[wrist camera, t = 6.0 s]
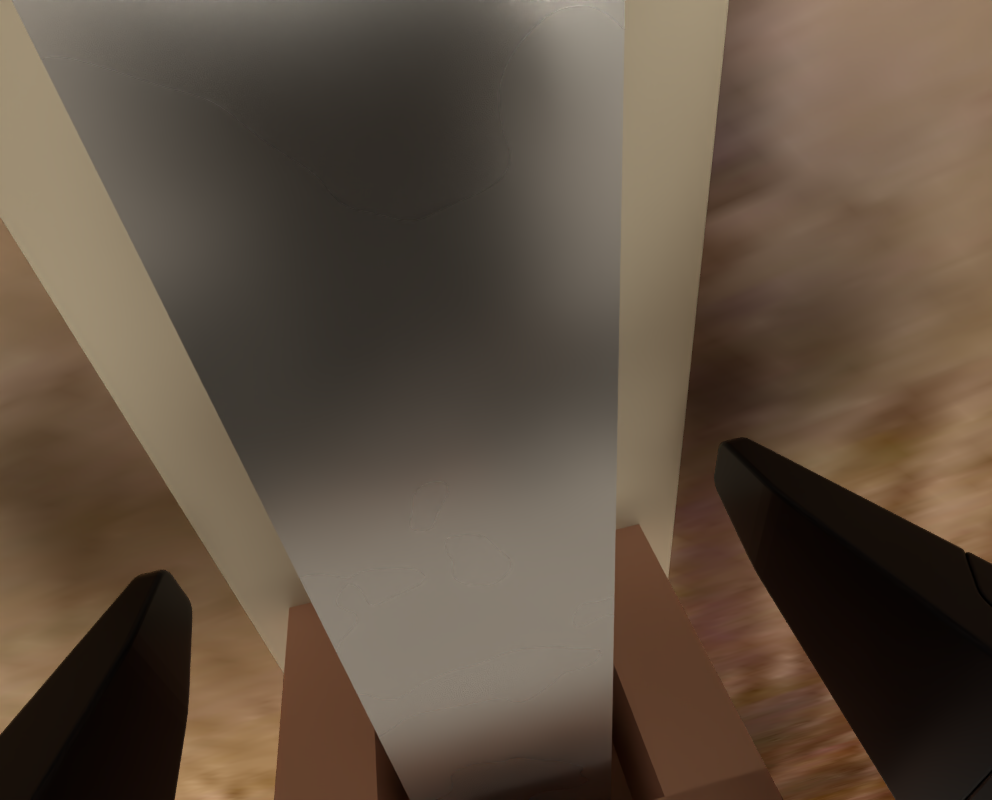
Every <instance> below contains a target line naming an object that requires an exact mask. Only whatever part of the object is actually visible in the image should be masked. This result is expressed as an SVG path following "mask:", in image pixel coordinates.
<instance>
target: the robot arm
mask: <svg viewBox="0 0 992 800" xmlns="http://www.w3.org/2000/svg"><path fill="white" fill-rule="evenodd" d="M714 481H715V486H716V489H717V492H718V494H719V496H720V498H721V500H722V502H723V504H724V506H725V509H726V511H727V513H728V515H729V517H730V519H731V521H732V524H733V526H734V528H735V530H736V532H737V534H738V536H739V538H740V541H741V543H742V545H743V547H744V549H745V551H746V553H747V555H748V557H749V559H750V561H751V563H752V565H753V567H754V569H755V571H756V573H757V574H758V576H759V578H760V579H761V581H762V583H763V584H764V586H765V588H766V589H767V591H768V593H769V594H770V596H771V597H772V599H773V601H774V602H775V604H776V606H777V607H778V609H779V610H780V612H781V614H782V615H783V617H784V619H785V620H786V622H787V623H788V625H789V627H790V628H791V630H792V632H793V633H794V635H795V636H796V638H797V640H798V641H799V643H800V645H801V646H802V648H803V650H804V651H805V653H806V654H807V656H808V658H809V659H810V661H811V663H812V664H813V666H814V667H815V669H816V671H817V672H818V674H819V676H820V677H821V679H822V680H823V682H824V684H825V685H826V687H827V689H828V690H829V692H830V693H831V695H832V697H833V698H834V700H835V702H836V703H837V705H838V707H839V708H840V710H841V711H842V713H843V715H844V716H845V718H846V720H847V721H848V723H849V724H850V726H851V728H852V729H853V731H854V733H855V734H856V736H857V737H858V739H859V741H860V742H861V744H862V746H863V747H864V749H865V750H866V752H867V754H868V755H869V757H870V759H871V760H872V762H873V764H874V765H875V767H876V768H877V770H878V772H879V773H880V775H881V777H882V778H883V780H884V781H885V783H886V785H887V786H888V788H889V790H890V791H891V793H892V794H893V796H894V798H895V799H896V800H992V564H991V563H989V562H987V561H985V560H984V559H982V558H980V557H978V556H976V555H974V554H972V553H970V552H966V553H965V552H964V550H963V549H962V548H960V547H958V546H956V545H954V544H952V543H950V542H948V541H946V540H944V539H942V538H941V537H939V536H937V535H935V534H933V533H931V532H929V531H927V530H925V529H923V528H921V527H919V526H917V525H915V524H913V523H911V522H909V521H908V520H906V519H904V518H902V517H900V516H898V515H896V514H894V513H892V512H890V511H888V510H886V509H884V508H882V507H880V506H878V505H877V504H875V503H873V502H871V501H869V500H867V499H865V498H863V497H861V496H859V495H857V494H855V493H853V492H851V491H849V490H847V489H845V488H844V487H842V486H840V485H838V484H836V483H834V482H832V481H830V480H828V479H826V478H824V477H822V476H820V475H818V474H816V473H814V472H813V471H811V470H809V469H807V468H805V467H803V466H801V465H799V464H797V463H795V462H793V461H791V460H789V459H787V458H785V457H783V456H781V455H780V454H778V453H776V452H774V451H772V450H770V449H768V448H766V447H764V446H762V445H760V444H758V443H756V442H754V441H752V440H750V439H748V438H744V437H741V438H737V439H732V440H728V441H724V442H722V443H721V444H720V446H719V449H718V455H717V461H716V468H715V474H714ZM191 637H192V607H191V603H190V601H189V599H188V597H187V596H186V594H185V593H184V592H183V590H182V589H181V587H180V586H179V584H178V583H177V582H176V580H175V579H174V577H173V576H172V575H171V573H170V572H168V571H166V570H158V571H154V572H150V573H145V574H141V575H139V576H137V577H136V578H134V579H133V580H132V581H131V583H130V584H129V585H128V586H127V587H126V588H125V590H124V591H123V592H122V593H121V594H120V595H119V597H118V598H117V599H116V600H115V601H114V602H113V604H112V605H111V606H110V607H109V608H108V609H107V611H106V612H105V613H104V614H103V615H102V616H101V618H100V619H99V620H98V621H97V622H96V623H95V625H94V626H93V627H92V628H91V629H90V630H89V632H88V633H87V634H86V635H85V636H84V637H83V639H82V640H81V641H80V642H79V643H78V644H77V646H76V647H75V648H74V649H73V650H72V651H71V653H70V654H69V655H68V656H67V657H66V658H65V660H64V661H63V662H62V663H61V664H60V665H59V667H58V668H57V669H56V670H55V671H54V672H53V674H52V675H51V676H50V677H49V678H48V679H47V681H46V682H45V683H44V684H43V685H42V686H41V688H40V689H39V690H38V691H37V692H36V693H35V695H34V696H33V697H32V698H31V699H30V700H29V702H28V703H27V704H26V705H25V706H24V707H23V709H22V710H21V711H20V712H19V713H18V714H17V716H16V717H15V718H14V719H13V720H12V721H11V723H10V724H9V725H8V726H7V727H6V728H5V730H4V731H3V732H2V733H1V734H0V800H175V794H176V787H177V781H178V774H179V768H180V762H181V755H182V749H183V742H184V736H185V730H186V722H187V715H188V705H189V688H190V662H191Z"/></svg>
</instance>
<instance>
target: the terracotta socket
mask: <svg viewBox="0 0 992 800" xmlns="http://www.w3.org/2000/svg"><path fill="white" fill-rule="evenodd" d="M274 800H410V799H409V797H408V795H407V793H406V791H405V789H404V787H403V785H402V783H401V781H400V779H399V777H398V775H397V773H396V771H395V769H394V767H393V765H392V763H391V761H390V759H389V757H388V755H387V753H386V751H385V749H384V747H383V745H382V743H381V741H380V739H379V737H378V735H377V733H376V731H375V729H374V727H373V725H372V723H371V721H370V719H369V717H368V715H367V713H366V711H365V709H364V707H363V705H362V703H361V701H360V699H359V697H358V695H357V693H356V691H355V689H354V687H353V685H352V683H351V681H350V679H349V677H348V675H347V673H346V671H345V669H344V667H343V665H342V663H341V661H340V659H339V657H338V655H337V653H336V651H335V649H334V647H333V645H332V643H331V641H330V639H329V637H328V635H327V633H326V631H325V629H324V627H323V625H322V623H321V621H320V619H319V617H318V614H317V612H316V610H315V608H314V606H313V604H312V602H311V603H307V604H303V605H298V606H294V607H290V608H289V616H288V629H287V642H286V654H285V667H284V680H283V693H282V706H281V719H280V731H279V744H278V757H277V770H276V783H275V795H274ZM611 800H783V798H782V796H781V795H780V793H779V791H778V789H777V787H776V785H775V783H774V781H773V779H772V777H771V775H770V774H769V772H768V770H767V768H766V766H765V764H764V762H763V760H762V758H761V756H760V754H759V752H758V751H757V749H756V747H755V745H754V743H753V741H752V739H751V737H750V735H749V733H748V731H747V729H746V728H745V726H744V724H743V722H742V720H741V718H740V716H739V714H738V712H737V710H736V708H735V707H734V705H733V703H732V701H731V699H730V697H729V695H728V693H727V691H726V689H725V687H724V685H723V684H722V682H721V680H720V678H719V676H718V674H717V672H716V670H715V668H714V666H713V664H712V663H711V661H710V659H709V657H708V655H707V653H706V651H705V649H704V647H703V645H702V643H701V641H700V640H699V638H698V636H697V634H696V632H695V630H694V628H693V626H692V624H691V622H690V620H689V619H688V617H687V615H686V613H685V611H684V609H683V607H682V605H681V603H680V601H679V599H678V597H677V596H676V594H675V592H674V590H673V588H672V586H671V584H670V582H669V580H668V578H667V576H666V574H665V573H664V571H663V569H662V567H661V565H660V563H659V561H658V559H657V557H656V555H655V553H654V552H653V550H652V548H651V546H650V544H649V542H648V540H647V538H646V536H645V534H644V532H643V530H642V529H641V527H640V525H639V524H638V525H633V526H629V527H625V528H621V529H617V530H616V537H615V593H614V649H613V705H612V762H611Z"/></svg>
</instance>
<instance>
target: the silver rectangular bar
mask: <svg viewBox="0 0 992 800" xmlns="http://www.w3.org/2000/svg"><path fill="white" fill-rule="evenodd" d="M12 2H13V4H14V6H15V8H16V10H17V12H18V14H19V16H20V18H21V20H22V22H23V24H24V26H25V28H26V30H27V32H28V34H29V36H30V38H31V40H32V42H33V44H34V46H35V48H36V50H37V52H38V54H39V56H40V58H41V60H42V63H43V65H44V67H45V69H46V71H47V73H48V75H49V77H50V79H51V81H52V83H53V85H54V87H55V89H56V91H57V93H58V95H59V97H60V99H61V101H62V103H63V105H64V107H65V109H66V111H67V113H68V115H69V117H70V119H71V121H72V123H73V125H74V127H75V129H76V131H77V133H78V135H79V137H80V139H81V141H82V143H83V145H84V147H85V149H86V151H87V153H88V155H89V157H90V159H91V161H92V163H93V165H94V167H95V169H96V171H97V173H98V175H99V177H100V179H101V181H102V183H103V185H104V187H105V189H106V191H107V193H108V195H109V197H110V199H111V201H112V203H113V205H114V207H115V209H116V211H117V213H118V215H119V217H120V219H121V221H122V223H123V225H124V227H125V229H126V231H127V233H128V235H129V237H130V239H131V241H132V243H133V245H134V247H135V249H136V251H137V253H138V255H139V257H140V259H141V261H142V263H143V265H144V267H145V269H146V271H147V273H148V275H149V277H150V279H151V281H152V283H153V285H154V287H155V289H156V291H157V293H158V295H159V297H160V299H161V301H162V303H163V305H164V307H165V309H166V311H167V313H168V315H169V317H170V319H171V321H172V323H173V325H174V327H175V329H176V331H177V333H178V335H179V337H180V340H181V342H182V344H183V346H184V348H185V350H186V352H187V354H188V356H189V358H190V360H191V362H192V364H193V366H194V368H195V370H196V372H197V374H198V376H199V378H200V380H201V382H202V384H203V386H204V388H205V390H206V392H207V394H208V396H209V398H210V400H211V402H212V404H213V406H214V408H215V410H216V412H217V414H218V416H219V418H220V420H221V422H222V424H223V426H224V428H225V430H226V432H227V434H228V436H229V438H230V440H231V442H232V444H233V446H234V448H235V450H236V452H237V454H238V456H239V458H240V460H241V462H242V464H243V466H244V468H245V470H246V472H247V474H248V476H249V478H250V480H251V482H252V484H253V486H254V488H255V490H256V492H257V494H258V496H259V498H260V500H261V502H262V504H263V506H264V508H265V510H266V512H267V514H268V516H269V518H270V520H271V522H272V524H273V526H274V528H275V530H276V532H277V534H278V536H279V538H280V540H281V542H282V544H283V546H284V548H285V550H286V552H287V554H288V556H289V558H290V560H291V562H292V564H293V566H294V568H295V570H296V572H297V574H298V576H299V578H300V580H301V582H302V584H303V586H304V588H305V590H306V592H307V594H308V596H309V598H310V600H311V602H312V604H313V606H314V608H315V610H316V612H317V614H318V617H319V619H320V621H321V623H322V625H323V627H324V629H325V631H326V633H327V635H328V637H329V639H330V641H331V643H332V645H333V647H334V649H335V651H336V653H337V655H338V657H339V659H340V661H341V663H342V665H343V667H344V669H345V671H346V673H347V675H348V677H349V679H350V681H351V683H352V685H353V687H354V689H355V691H356V693H357V695H358V697H359V699H360V701H361V703H362V705H363V707H364V709H365V711H366V713H367V715H368V717H369V719H370V721H371V723H372V725H373V727H374V729H375V731H376V733H377V735H378V737H379V739H380V741H381V743H382V745H383V747H384V749H385V751H386V753H387V755H388V757H389V759H390V761H391V763H392V765H393V767H394V769H395V771H396V773H397V775H398V777H399V779H400V781H401V783H402V785H403V787H404V789H405V791H406V793H407V795H408V797H409V799H410V800H611V762H612V705H613V649H614V593H615V537H616V481H617V424H618V368H619V312H620V256H621V200H622V143H623V87H624V31H625V0H12Z"/></svg>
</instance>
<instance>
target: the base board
mask: <svg viewBox="0 0 992 800" xmlns="http://www.w3.org/2000/svg"><path fill="white" fill-rule="evenodd" d="M728 4H729V0H625V31H624V87H623V143H622V200H621V256H620V312H619V368H618V424H617V481H616V530H617V529H621V528H625V527H629V526H633V525H638V524H639V525H640V527H641V529H642V530H643V532H644V534H645V536H646V538H647V540H648V542H649V544H650V546H651V548H652V550H653V552H654V553H655V555H656V557H657V559H658V561H659V563H660V565H661V567H662V569H663V571H664V573H665V574H666V576H667V578H668V575H669V565H670V556H671V546H672V537H673V527H674V518H675V508H676V499H677V489H678V480H679V470H680V461H681V451H682V442H683V432H684V423H685V413H686V404H687V394H688V385H689V375H690V366H691V356H692V347H693V337H694V328H695V318H696V309H697V299H698V289H699V280H700V270H701V261H702V251H703V242H704V232H705V223H706V213H707V204H708V194H709V185H710V175H711V166H712V156H713V147H714V137H715V128H716V118H717V109H718V99H719V90H720V80H721V71H722V61H723V52H724V42H725V33H726V23H727V14H728ZM0 217H1V219H2V220H3V222H4V224H5V225H6V227H7V229H8V230H9V232H10V233H11V235H12V237H13V238H14V240H15V241H16V243H17V245H18V246H19V248H20V249H21V251H22V253H23V254H24V256H25V258H26V259H27V261H28V262H29V264H30V266H31V267H32V269H33V270H34V272H35V274H36V275H37V277H38V278H39V280H40V282H41V283H42V285H43V287H44V288H45V290H46V291H47V293H48V295H49V296H50V298H51V299H52V301H53V303H54V304H55V306H56V307H57V309H58V311H59V312H60V314H61V316H62V317H63V319H64V320H65V322H66V324H67V325H68V327H69V328H70V330H71V332H72V333H73V335H74V336H75V338H76V340H77V341H78V343H79V345H80V346H81V348H82V349H83V351H84V353H85V354H86V356H87V357H88V359H89V361H90V362H91V364H92V365H93V367H94V369H95V370H96V372H97V374H98V375H99V377H100V378H101V380H102V382H103V383H104V385H105V386H106V388H107V390H108V391H109V393H110V394H111V396H112V398H113V399H114V401H115V403H116V404H117V406H118V407H119V409H120V411H121V412H122V414H123V415H124V417H125V419H126V420H127V422H128V423H129V425H130V427H131V428H132V430H133V432H134V433H135V435H136V436H137V438H138V440H139V441H140V443H141V444H142V446H143V448H144V449H145V451H146V452H147V454H148V456H149V457H150V459H151V461H152V462H153V464H154V465H155V467H156V469H157V470H158V472H159V473H160V475H161V477H162V478H163V480H164V481H165V483H166V485H167V486H168V488H169V490H170V491H171V493H172V494H173V496H174V498H175V499H176V501H177V502H178V504H179V506H180V507H181V509H182V510H183V512H184V514H185V515H186V517H187V519H188V520H189V522H190V523H191V525H192V527H193V528H194V530H195V531H196V533H197V535H198V536H199V538H200V539H201V541H202V543H203V544H204V546H205V548H206V549H207V551H208V552H209V554H210V556H211V557H212V559H213V560H214V562H215V564H216V565H217V567H218V568H219V570H220V572H221V573H222V575H223V577H224V578H225V580H226V581H227V583H228V585H229V586H230V588H231V589H232V591H233V593H234V594H235V596H236V597H237V599H238V601H239V602H240V604H241V606H242V607H243V609H244V610H245V612H246V614H247V615H248V617H249V618H250V620H251V622H252V623H253V625H254V626H255V628H256V630H257V631H258V633H259V635H260V636H261V638H262V639H263V641H264V643H265V644H266V646H267V647H268V649H269V651H270V652H271V654H272V655H273V657H274V659H275V660H276V662H277V664H278V665H279V667H280V668H281V670H282V672H283V673H284V667H285V654H286V642H287V629H288V616H289V608H290V607H294V606H298V605H303V604H307V603H311V600H310V598H309V596H308V594H307V592H306V590H305V588H304V586H303V584H302V582H301V580H300V578H299V576H298V574H297V572H296V570H295V568H294V566H293V564H292V562H291V560H290V558H289V556H288V554H287V552H286V550H285V548H284V546H283V544H282V542H281V540H280V538H279V536H278V534H277V532H276V530H275V528H274V526H273V524H272V522H271V520H270V518H269V516H268V514H267V512H266V510H265V508H264V506H263V504H262V502H261V500H260V498H259V496H258V494H257V492H256V490H255V488H254V486H253V484H252V482H251V480H250V478H249V476H248V474H247V472H246V470H245V468H244V466H243V464H242V462H241V460H240V458H239V456H238V454H237V452H236V450H235V448H234V446H233V444H232V442H231V440H230V438H229V436H228V434H227V432H226V430H225V428H224V426H223V424H222V422H221V420H220V418H219V416H218V414H217V412H216V410H215V408H214V406H213V404H212V402H211V400H210V398H209V396H208V394H207V392H206V390H205V388H204V386H203V384H202V382H201V380H200V378H199V376H198V374H197V372H196V370H195V368H194V366H193V364H192V362H191V360H190V358H189V356H188V354H187V352H186V350H185V348H184V346H183V344H182V342H181V340H180V337H179V335H178V333H177V331H176V329H175V327H174V325H173V323H172V321H171V319H170V317H169V315H168V313H167V311H166V309H165V307H164V305H163V303H162V301H161V299H160V297H159V295H158V293H157V291H156V289H155V287H154V285H153V283H152V281H151V279H150V277H149V275H148V273H147V271H146V269H145V267H144V265H143V263H142V261H141V259H140V257H139V255H138V253H137V251H136V249H135V247H134V245H133V243H132V241H131V239H130V237H129V235H128V233H127V231H126V229H125V227H124V225H123V223H122V221H121V219H120V217H119V215H118V213H117V211H116V209H115V207H114V205H113V203H112V201H111V199H110V197H109V195H108V193H107V191H106V189H105V187H104V185H103V183H102V181H101V179H100V177H99V175H98V173H97V171H96V169H95V167H94V165H93V163H92V161H91V159H90V157H89V155H88V153H87V151H86V149H85V147H84V145H83V143H82V141H81V139H80V137H79V135H78V133H77V131H76V129H75V127H74V125H73V123H72V121H71V119H70V117H69V115H68V113H67V111H66V109H65V107H64V105H63V103H62V101H61V99H60V97H59V95H58V93H57V91H56V89H55V87H54V85H53V83H52V81H51V79H50V77H49V75H48V73H47V71H46V69H45V67H44V65H43V63H42V60H41V58H40V56H39V54H38V52H37V50H36V48H35V46H34V44H33V42H32V40H31V38H30V36H29V34H28V32H27V30H26V28H25V26H24V24H23V22H22V20H21V18H20V16H19V14H18V12H17V10H16V8H15V6H14V4H13V2H12V0H0Z"/></svg>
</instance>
